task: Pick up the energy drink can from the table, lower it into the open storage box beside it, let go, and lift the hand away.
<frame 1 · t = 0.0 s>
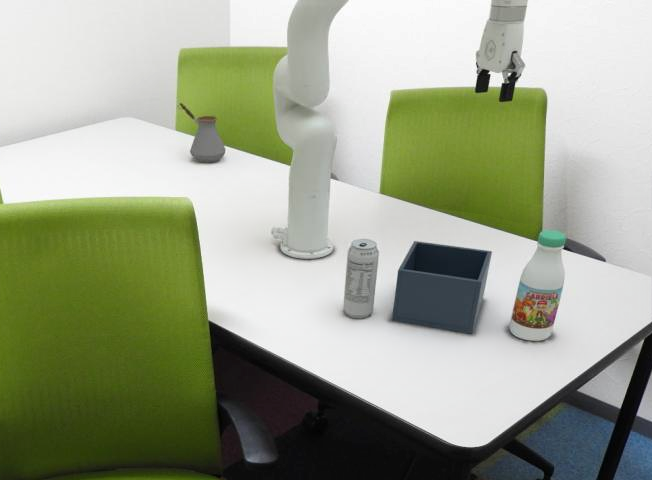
hand: (493, 96, 175), 31 cm above the table, tool pointing down, fingers open, 9 cm apart
energy drink can: (357, 313, 155), on the table
coffee pot: (199, 156, 248), on the table
milk bottle: (529, 333, 147), on the table
open storage box: (438, 310, 155), on the table
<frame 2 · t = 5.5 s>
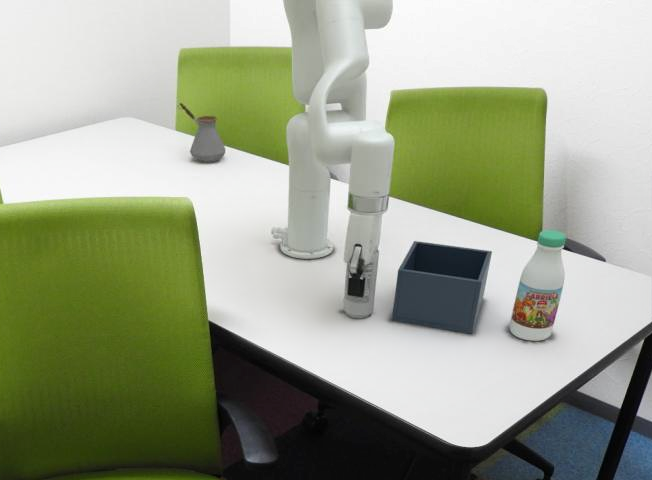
hand: (360, 287, 152), 6 cm above the table, tool pointing down, fingers closed on energy drink can, 6 cm apart
energy drink can: (357, 313, 155), on the table, touching gripper
everything else where it was.
when the fingers open (7 cm above the table, at t = 13.7 s): energy drink can stays where it is, resting on open storage box.
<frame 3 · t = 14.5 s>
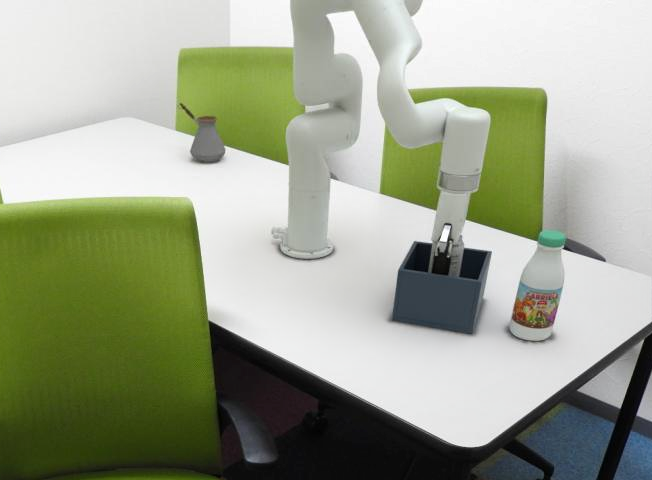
hand: (444, 265, 150), 10 cm above the table, tool pointing down, fingers open, 9 cm apart
energy drink can: (438, 306, 155), point 1 cm above the table, touching open storage box
everything else where it was.
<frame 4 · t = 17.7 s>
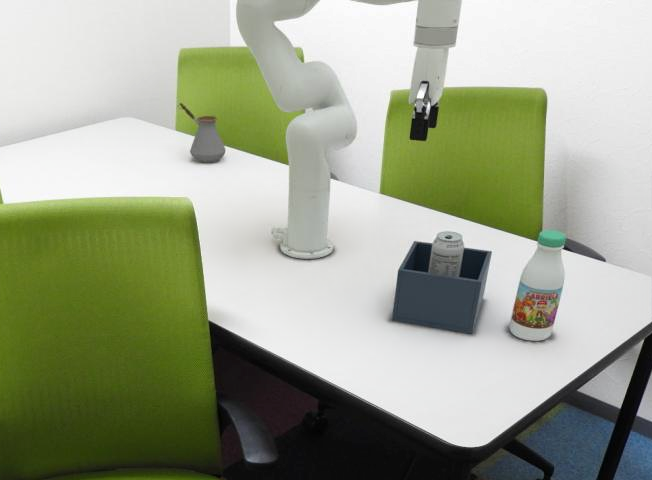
hand: (422, 133, 147), 32 cm above the table, tool pointing down, fingers open, 9 cm apart
nothing on the table moved.
at the end: energy drink can inside the target area in the open storage box (0.1 cm from its centre), point 0.8 cm above the open storage box's base; the gripper is holding nothing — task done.
